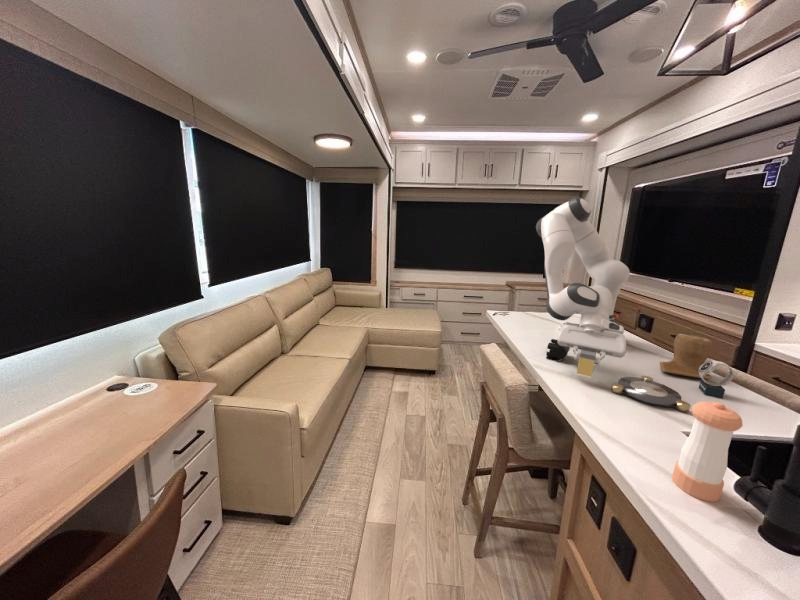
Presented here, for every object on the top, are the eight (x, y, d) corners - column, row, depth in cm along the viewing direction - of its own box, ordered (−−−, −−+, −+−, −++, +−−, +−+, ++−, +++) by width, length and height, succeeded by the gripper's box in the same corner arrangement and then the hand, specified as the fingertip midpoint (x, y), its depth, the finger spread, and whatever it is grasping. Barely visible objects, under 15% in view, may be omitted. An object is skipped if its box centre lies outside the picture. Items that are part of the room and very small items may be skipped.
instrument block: (578, 368, 109) (581, 348, 108) (592, 372, 107) (596, 352, 105) (576, 373, 106) (580, 352, 104) (591, 377, 104) (595, 356, 102)
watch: (691, 386, 107) (699, 356, 104) (722, 392, 103) (732, 361, 101) (696, 393, 102) (705, 362, 99) (730, 400, 98) (740, 368, 96)
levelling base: (637, 378, 111) (639, 372, 110) (705, 406, 94) (707, 399, 94) (602, 388, 103) (604, 382, 103) (669, 420, 86) (671, 413, 86)
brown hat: (698, 370, 119) (709, 333, 116) (715, 384, 109) (727, 344, 105) (650, 363, 125) (659, 327, 121) (662, 375, 114) (671, 337, 111)
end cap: (564, 364, 121) (567, 347, 120) (545, 359, 125) (547, 343, 124) (568, 356, 129) (571, 340, 128) (550, 351, 133) (552, 336, 132)
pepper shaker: (681, 494, 62) (706, 408, 57) (665, 469, 69) (687, 390, 64) (728, 507, 59) (758, 418, 55) (707, 479, 66) (732, 398, 62)
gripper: (561, 317, 114) (552, 350, 108) (629, 328, 103) (624, 365, 97) (561, 325, 119) (553, 357, 113) (626, 337, 107) (621, 373, 102)
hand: (586, 361), depth 105 cm, fingers closed on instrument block, 4 cm apart
